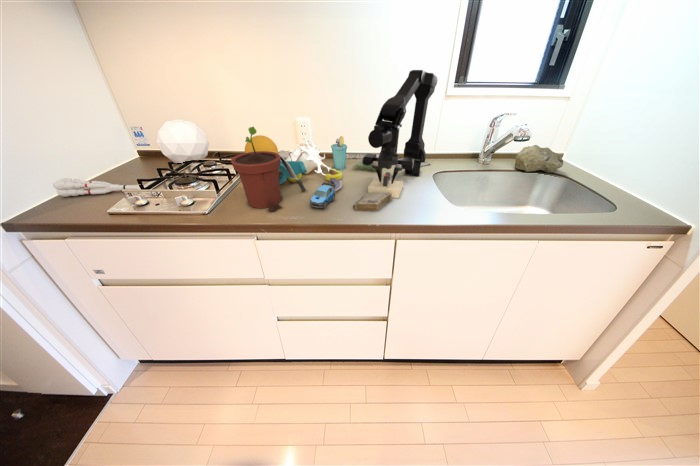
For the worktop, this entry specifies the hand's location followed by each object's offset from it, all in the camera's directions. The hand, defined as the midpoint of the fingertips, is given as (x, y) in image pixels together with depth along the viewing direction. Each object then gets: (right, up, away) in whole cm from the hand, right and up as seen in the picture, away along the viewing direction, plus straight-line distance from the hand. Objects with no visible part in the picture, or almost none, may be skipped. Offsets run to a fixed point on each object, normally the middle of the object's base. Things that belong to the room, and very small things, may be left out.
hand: (386, 182), depth 98 cm
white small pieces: (-39, +20, +15) cm, 46 cm away
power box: (-4, +13, +25) cm, 28 cm away
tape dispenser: (-38, +2, +1) cm, 38 cm away
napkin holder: (+19, +18, +33) cm, 42 cm away
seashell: (-40, +14, +15) cm, 45 cm away
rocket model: (-124, -3, -5) cm, 124 cm away
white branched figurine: (-30, +14, +13) cm, 35 cm away
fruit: (-38, +2, +9) cm, 39 cm away
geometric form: (-103, +21, +33) cm, 110 cm away
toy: (-63, +15, +19) cm, 68 cm away
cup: (-20, +12, +24) cm, 33 cm away
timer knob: (0, 0, 0) cm, 0 cm away
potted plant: (-43, -8, -6) cm, 44 cm away
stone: (-6, -10, -8) cm, 14 cm away
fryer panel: (0, -3, +2) cm, 4 cm away
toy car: (-24, -9, -8) cm, 27 cm away
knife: (-21, +2, +9) cm, 23 cm away
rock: (+74, +14, +15) cm, 77 cm away
